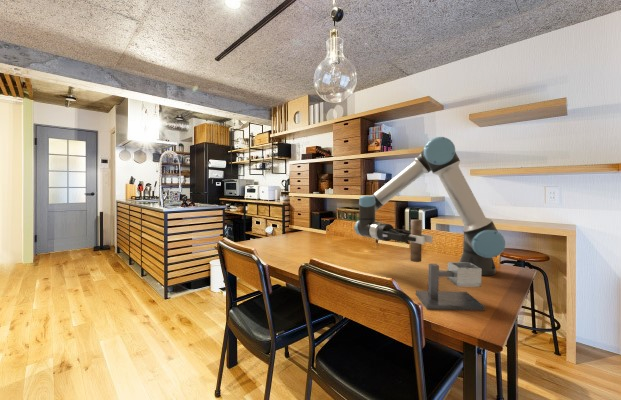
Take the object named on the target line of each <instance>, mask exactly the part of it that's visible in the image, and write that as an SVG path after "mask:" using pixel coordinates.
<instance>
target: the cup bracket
mask: <svg viewBox="0 0 621 400" xmlns="http://www.w3.org/2000/svg"><path fill="white" fill-rule="evenodd" d="M481 274H482V269H481V268H479V267H477V266H476V265H474V264H472V263H470V262H459V261H448V262H447V270H440V265H438V264H437V263H428V276H427V277H428V280H427V282H428V283H427V285H428V286H427V290H415V296H416V297H417V298H418V299H419V301H420V302H421V304H422V305H423V306H424V307H425V309H426V310H437V311H438V310H442V311H443V310H444V311H445V310H446V311H473V312H474V311H475V312H477V311H479V312H485V310H486V309H485V305H484V304H483V303H481V302H479V300H477V299H476V298H474V296H473V295H471V294H470V293H468V291H446V290H444V291H442V290H441V291H439V282H440V281H439V280H440V279H439V278H441V277H444V278H445V277H446V278H447V280H449V281H450V283H452V284H453V285H455V286H456V287H463V288H466V287H468V288H469V287H470V288H481V287H482V275H481Z"/></svg>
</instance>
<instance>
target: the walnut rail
mask: <svg viewBox="0 0 621 400" xmlns="http://www.w3.org/2000/svg"><path fill="white" fill-rule="evenodd" d="M422 224H423V222H422V219H410V231H411V235H416V236H422V234H423V231H422V230H423V229H422V226H423V225H422ZM422 245H423V244H418V243H413V242H410V262H412V263H413V262H414V263H421V262H422Z"/></svg>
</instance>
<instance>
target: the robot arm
mask: <svg viewBox="0 0 621 400" xmlns="http://www.w3.org/2000/svg"><path fill="white" fill-rule="evenodd" d="M460 163H461V160H460V158H459V155H458V154H457V152H456V146H455V144H454V142H453V141H452V140H451V139H449V138H447V137H444V136H437V137H434V138H431V139H430V140H428V141H427V142H426V144H425V145H424V147H423V149H422V151H421V152H420V153H419V154H418V155H416V156H415V157H414V160H413V162H411V163H410V164H409V165H408V166H406V167H405V168H404V169H402V170H401V171H400V172H398V173H397V175H395V176H394V177H393V178H391V179H390V180H389V181H388V182H386V183H385V184H384V185H383V186H381V188H379V189H378V190H377V191H375V192H374V193H373V194H372V195H360V197H359V201H358V210H359V211H358V213H359V215H358V216H359V217H358V219H359V220H357V221H356V222H355V224H354V231H355V233H356V234H357V235H359V236H362V237H364V238H371V239H376V241H379V240H381V241H385V242H389V241H391V240H392V241H396V242H401V243H403V242H405V244H409V242H410V243H411V242H413V243H418V244H422V245H425V243H429V244H432V243H433V241H434V240H433V237H434V235H430V234H424V233H422V236H416V235H411V230H410V229H409V230H407V229H403V228H402V229H399V228H394V226H393V225H392V224H391V223H385V222H377V221H376V212H377V211H379V209H381V208H382V207H383V206H384V205H386V203H388V202H389V201H391V200H392V199H393V198H394V197H395V196H397V195H398V194H399V193H401V192H403V190H405V189H406V188H407V187H409V186H410V185H411V184H413V183H414V182H415V181H417V179H419V178H420V177H421V176H423V175H424V174H428V173H430V172H432V174H433V175H436V176H438V178H439V180H440V181H441V183H442V185H443V187H444V189H445V191H446V192H447V195H448V197H449V199H450V200H451V202H452V204H453V207H454V208H455V210H456V212H457V214H458V215H459V218H460V219H461V222H462V224H463V228H462V232H463V239H462V241H463V242H462V243H463V245H462V254H461V256H460V259H459V261H458V262H470V263H472V264H474V265H476V266H477V267H479V268H481V269H482V274H481V276H494V275H496V273H497V268H496V264H495V262H494V258H496V257H497V256H499V255H501V254H502V253H503V252H504V251H505V247H506V239H505V237H504V236H503V234H502V233H500V231H499V230H498V229H497V227H496V225H495V223H494V221H493V220H492V219H491V218H489V217H486V215H485V213H484V211H483V210H482V208H481V206H480V204H479V202H478V200H477V198H476V197H475V195H474V193H473V191H472V189H471V187H470V185H469V183H468V182H467V181H468V180H467V179H466V178H465V176H464V173H463V172H462V170H461V168H460Z"/></svg>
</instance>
